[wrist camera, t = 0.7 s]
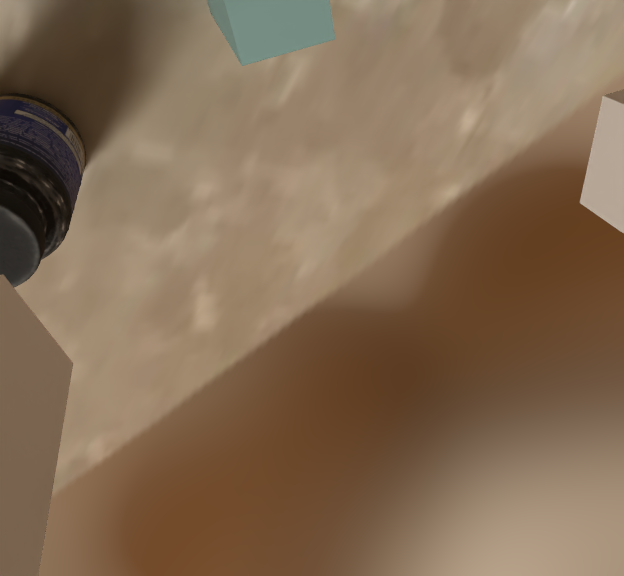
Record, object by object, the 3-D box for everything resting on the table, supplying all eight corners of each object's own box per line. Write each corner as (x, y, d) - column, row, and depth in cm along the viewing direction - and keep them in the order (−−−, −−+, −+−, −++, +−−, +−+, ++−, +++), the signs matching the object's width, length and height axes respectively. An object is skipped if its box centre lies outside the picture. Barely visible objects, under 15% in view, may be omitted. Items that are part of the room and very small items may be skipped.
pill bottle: (-24, 70, 25) (-114, 149, 17) (100, 119, 28) (76, 207, 19) (-42, 173, 28) (-127, 286, 19) (72, 208, 31) (42, 319, 22)
